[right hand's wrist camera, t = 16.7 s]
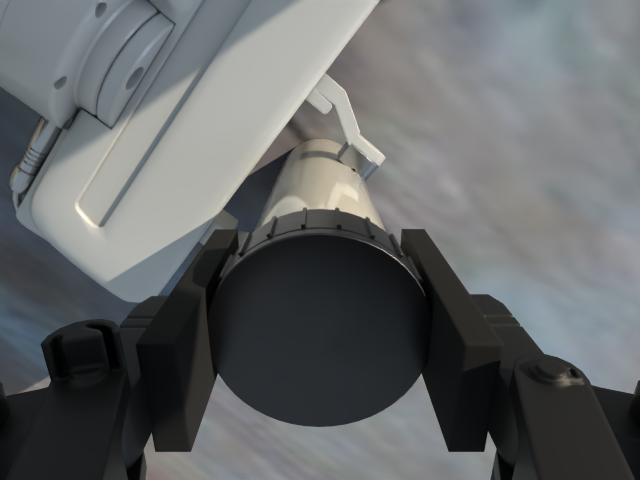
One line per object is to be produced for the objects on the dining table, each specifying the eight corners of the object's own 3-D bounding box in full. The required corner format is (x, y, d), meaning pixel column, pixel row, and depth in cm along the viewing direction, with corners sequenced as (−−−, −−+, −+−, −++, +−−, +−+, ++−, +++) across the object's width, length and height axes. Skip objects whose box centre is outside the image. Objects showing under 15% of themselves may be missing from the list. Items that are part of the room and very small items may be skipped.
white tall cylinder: (355, 217, 28) (404, 405, 12) (279, 214, 28) (225, 398, 12) (362, 140, 26) (430, 239, 10) (281, 136, 26) (219, 229, 10)
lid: (362, 166, 11) (371, 183, 9) (450, 332, 13) (472, 376, 11) (181, 265, 12) (155, 300, 10) (286, 406, 14) (281, 458, 12)
